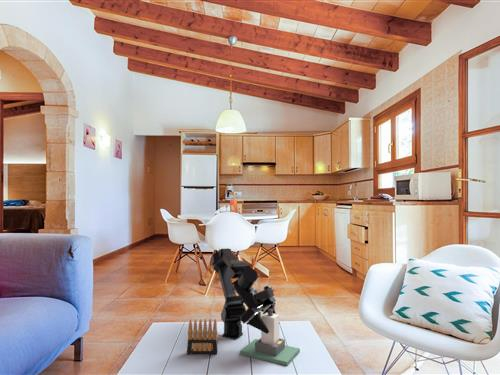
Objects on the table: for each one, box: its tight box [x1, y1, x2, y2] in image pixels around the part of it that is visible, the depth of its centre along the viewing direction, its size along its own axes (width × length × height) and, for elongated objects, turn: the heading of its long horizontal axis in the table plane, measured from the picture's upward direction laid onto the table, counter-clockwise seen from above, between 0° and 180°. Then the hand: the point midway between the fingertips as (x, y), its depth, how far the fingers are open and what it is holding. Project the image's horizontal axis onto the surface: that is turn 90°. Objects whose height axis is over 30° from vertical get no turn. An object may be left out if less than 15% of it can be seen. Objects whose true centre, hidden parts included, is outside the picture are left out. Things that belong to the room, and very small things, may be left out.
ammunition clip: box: [186, 318, 218, 356], centre depth 117 cm, size 11×2×12 cm, turn 90°
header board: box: [239, 337, 301, 367], centre depth 118 cm, size 18×12×4 cm, turn 62°
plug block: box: [260, 309, 280, 346], centre depth 118 cm, size 5×4×14 cm
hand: (273, 328), depth 117 cm, fingers open, 9 cm apart
